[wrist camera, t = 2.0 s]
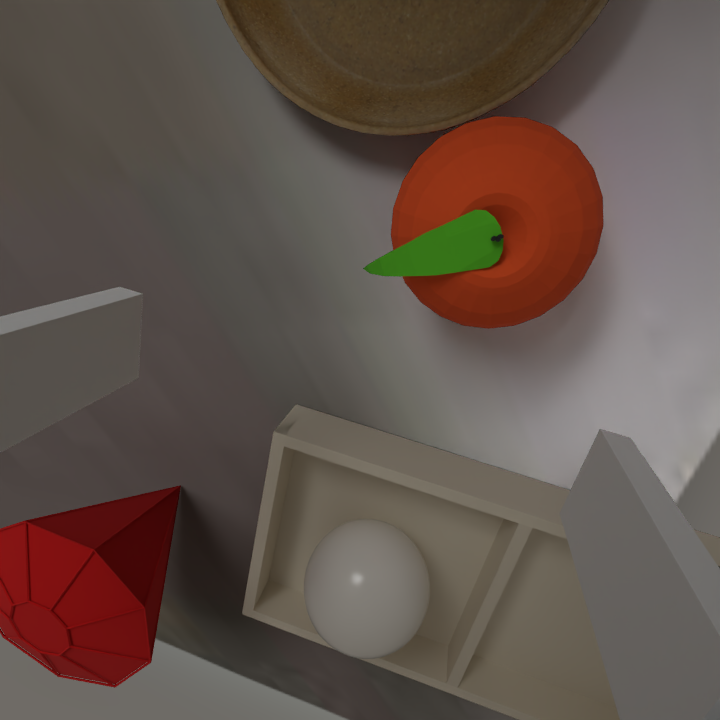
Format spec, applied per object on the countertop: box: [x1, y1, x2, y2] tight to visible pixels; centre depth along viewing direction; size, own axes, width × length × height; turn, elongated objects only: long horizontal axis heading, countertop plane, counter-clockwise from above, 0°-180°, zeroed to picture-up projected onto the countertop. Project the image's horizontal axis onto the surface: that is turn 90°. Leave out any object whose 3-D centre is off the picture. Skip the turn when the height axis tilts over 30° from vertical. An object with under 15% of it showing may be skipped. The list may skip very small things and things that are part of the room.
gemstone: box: [0, 486, 181, 687], centre depth 23 cm, size 9×9×10 cm
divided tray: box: [242, 404, 720, 720], centre depth 24 cm, size 12×24×3 cm, turn 77°
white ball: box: [304, 519, 430, 659], centre depth 22 cm, size 6×6×6 cm
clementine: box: [363, 116, 603, 329], centre depth 16 cm, size 8×7×7 cm
